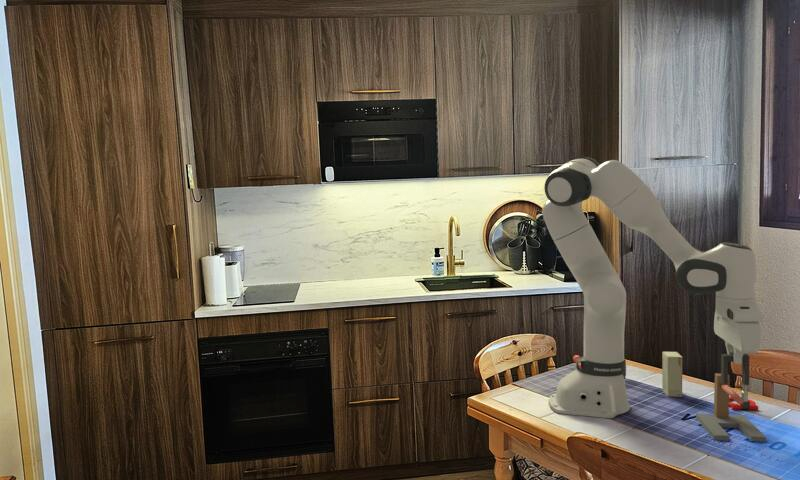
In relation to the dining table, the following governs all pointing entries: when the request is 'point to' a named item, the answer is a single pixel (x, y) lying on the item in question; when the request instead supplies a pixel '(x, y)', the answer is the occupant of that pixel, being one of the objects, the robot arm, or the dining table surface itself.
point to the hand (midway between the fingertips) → (734, 361)
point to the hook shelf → (727, 415)
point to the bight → (724, 368)
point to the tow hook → (747, 403)
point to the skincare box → (672, 374)
